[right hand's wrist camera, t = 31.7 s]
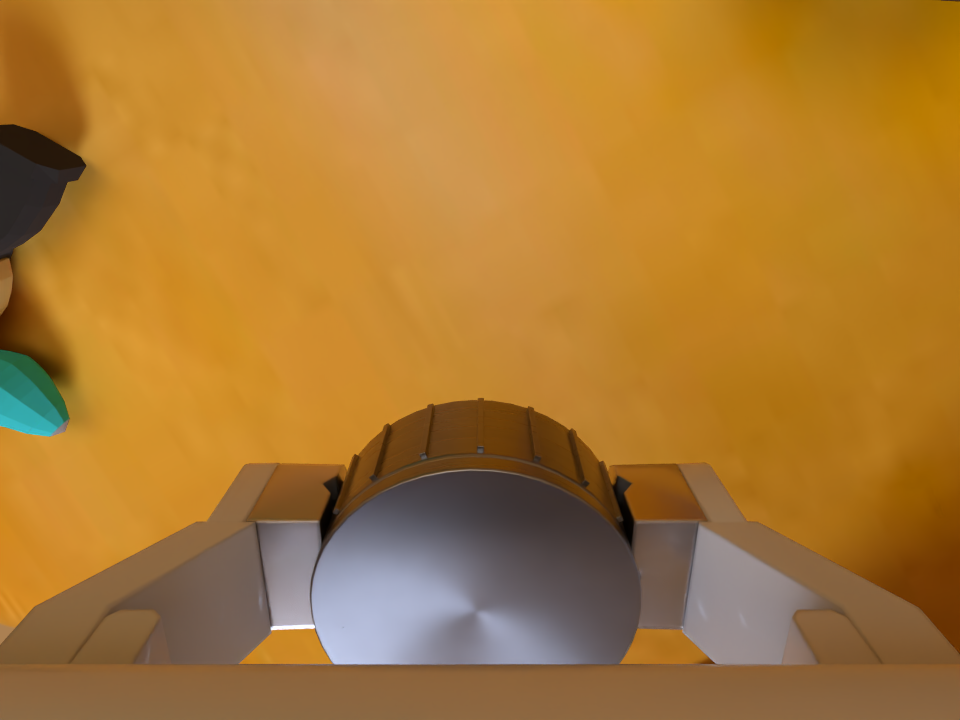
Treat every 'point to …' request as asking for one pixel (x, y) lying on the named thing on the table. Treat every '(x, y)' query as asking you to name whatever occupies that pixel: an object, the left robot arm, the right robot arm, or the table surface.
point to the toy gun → (3, 226)
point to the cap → (476, 546)
